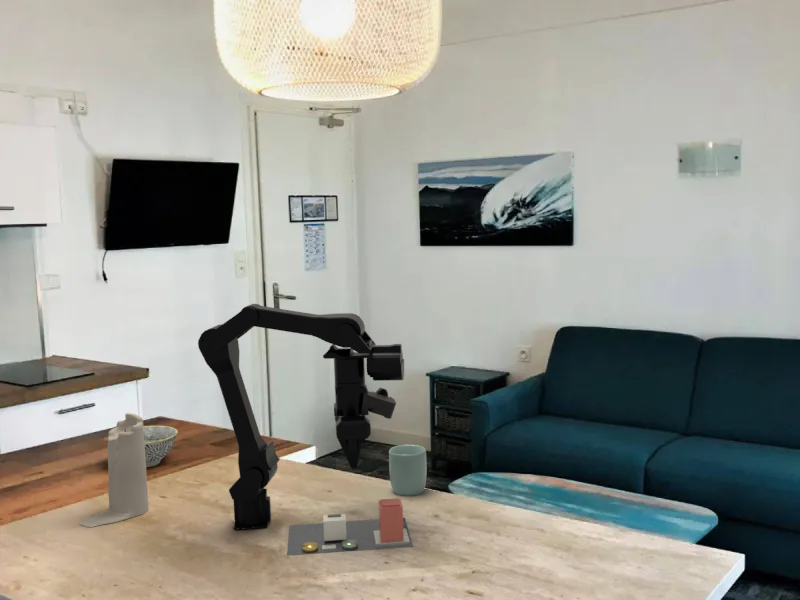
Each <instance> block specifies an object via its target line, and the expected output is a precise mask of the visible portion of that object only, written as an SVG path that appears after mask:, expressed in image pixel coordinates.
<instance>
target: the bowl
mask: <svg viewBox="0 0 800 600" xmlns="http://www.w3.org/2000/svg"><path fill="white" fill-rule="evenodd" d="M143 429H144V445H145V458H146V468H149V467H151V468H152V467H154V466H157V465H159V464H160V463H161V460H162V459H164V458H165V457H166V456H168V455H169V453H170V452H171V451H172V449H173V446H174V444H175V443H174V442H175V439H176V437H177V435H178V429H176V428H175V427H172V426H166V425H143Z"/></svg>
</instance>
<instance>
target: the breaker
mask: <svg viewBox="0 0 800 600" xmlns="http://www.w3.org/2000/svg"><path fill="white" fill-rule="evenodd" d="M346 518H347V517H346V514H345V513H343V514H342V513H335V514H327V515H325V514H324V515H323V519H322V520H323V522H322V523H324V541H332V540H347V536H346V521H347V519H346Z"/></svg>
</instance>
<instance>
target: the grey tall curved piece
mask: <svg viewBox="0 0 800 600" xmlns="http://www.w3.org/2000/svg"><path fill="white" fill-rule="evenodd" d="M124 418H125V419H124V420H118V421H117V423H116V426H115V427H113V428H111V429H110V430H109V432H108V433H107V434H108V438H107V444H106V445H107V448H106V449H107V464H108V465H107V467H108V484H107V485H108V486H107V487H108V489H107V490H108V505H109V507H108V508H109V509H107V510H104V511H102V512H99V513H97V514H93V515H91V516H90V517H88V518H87V519H86V520H84V521H82V522H79V525H82V526H83V527H85V528H92V527H98V526H101V525H110V524H114V523H119V522H122V521H125V520H127V519H132V518H135V517H137V516H141V515H143V514H145V513H147V512H148V511H149V496H148V481H147V478H148V477H147V467H146V458H145V445H144V429H143V426H144V419H143V417H141V416H140V415H138V414H135V413H131V412H130V413H129V412H126V413H125V417H124Z"/></svg>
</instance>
